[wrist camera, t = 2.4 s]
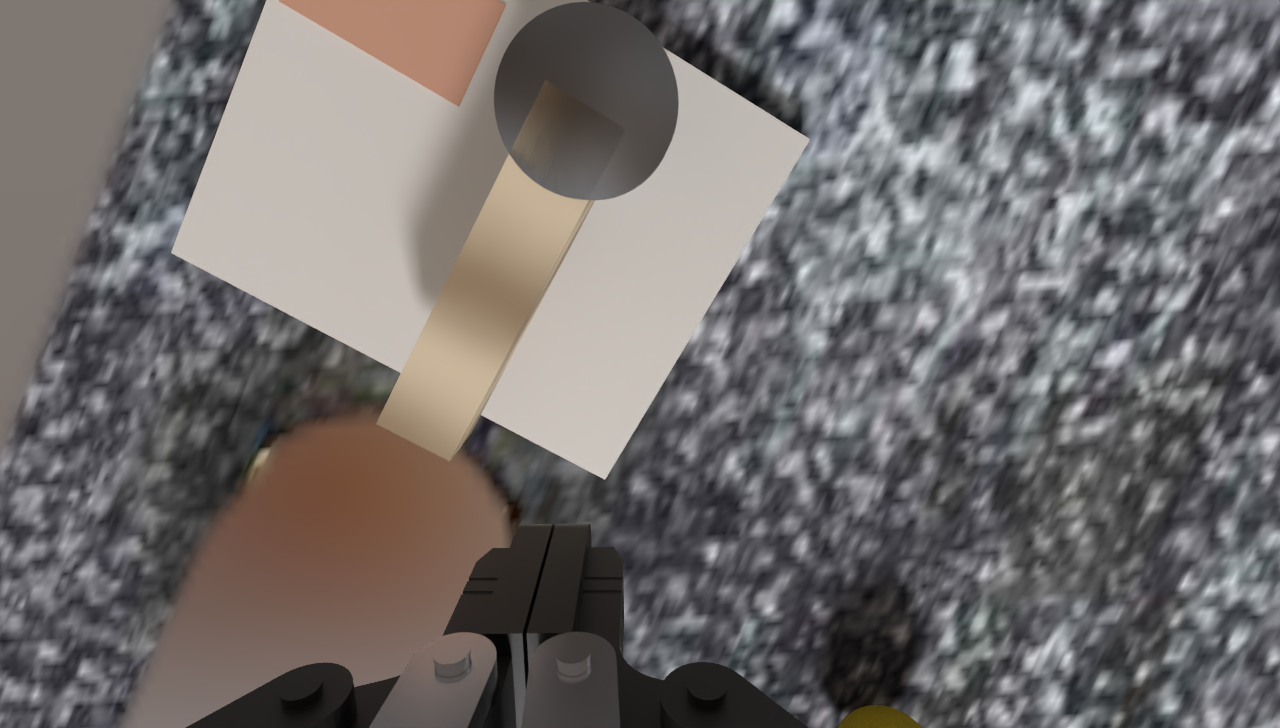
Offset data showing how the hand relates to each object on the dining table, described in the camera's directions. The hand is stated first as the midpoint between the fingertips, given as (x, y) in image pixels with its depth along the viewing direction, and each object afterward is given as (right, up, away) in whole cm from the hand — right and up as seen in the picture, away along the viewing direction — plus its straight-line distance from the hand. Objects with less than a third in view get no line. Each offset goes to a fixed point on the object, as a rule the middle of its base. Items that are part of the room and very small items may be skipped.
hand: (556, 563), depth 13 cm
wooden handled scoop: (-3, +9, +11) cm, 15 cm away
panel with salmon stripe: (-5, +12, +15) cm, 20 cm away
